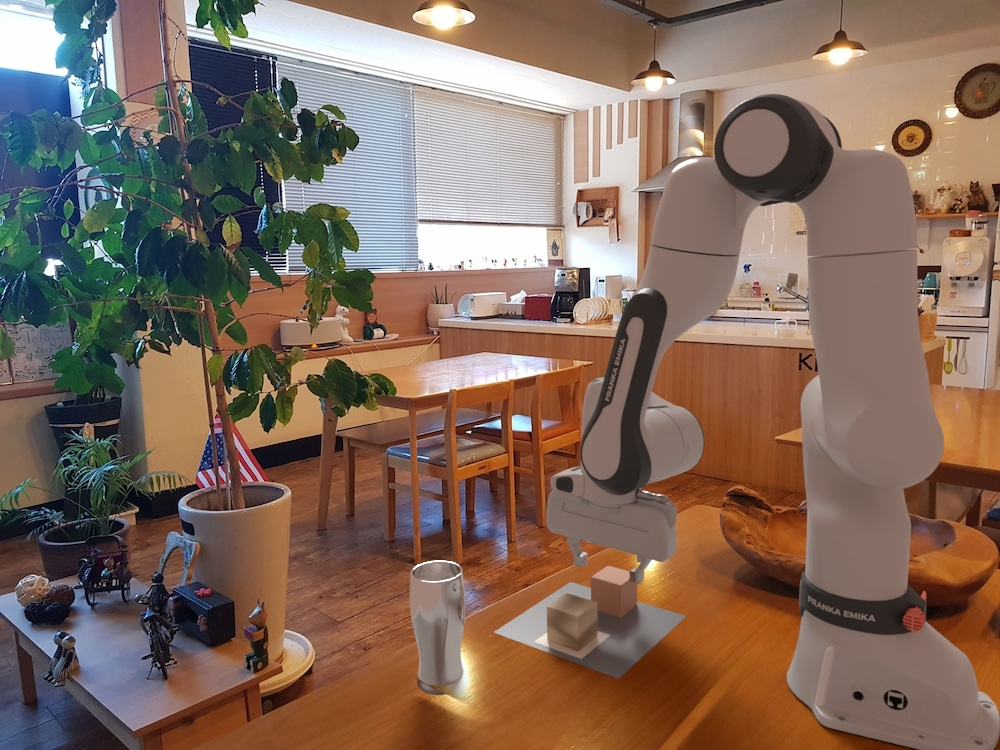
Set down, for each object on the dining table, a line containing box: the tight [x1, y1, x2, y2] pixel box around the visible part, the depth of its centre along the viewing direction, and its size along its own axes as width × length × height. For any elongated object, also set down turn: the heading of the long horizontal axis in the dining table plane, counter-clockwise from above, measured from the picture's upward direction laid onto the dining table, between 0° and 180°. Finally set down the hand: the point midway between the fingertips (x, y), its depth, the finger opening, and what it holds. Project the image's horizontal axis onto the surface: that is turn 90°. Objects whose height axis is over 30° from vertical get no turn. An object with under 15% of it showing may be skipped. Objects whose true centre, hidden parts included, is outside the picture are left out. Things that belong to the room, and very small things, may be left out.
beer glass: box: [409, 560, 467, 696], centre depth 94 cm, size 7×7×15 cm
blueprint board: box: [493, 581, 687, 680], centre depth 107 cm, size 20×20×1 cm
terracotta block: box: [590, 565, 638, 618], centre depth 112 cm, size 5×5×5 cm
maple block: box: [547, 593, 598, 651], centre depth 103 cm, size 5×5×5 cm
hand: (607, 573), depth 111 cm, fingers open, 8 cm apart
